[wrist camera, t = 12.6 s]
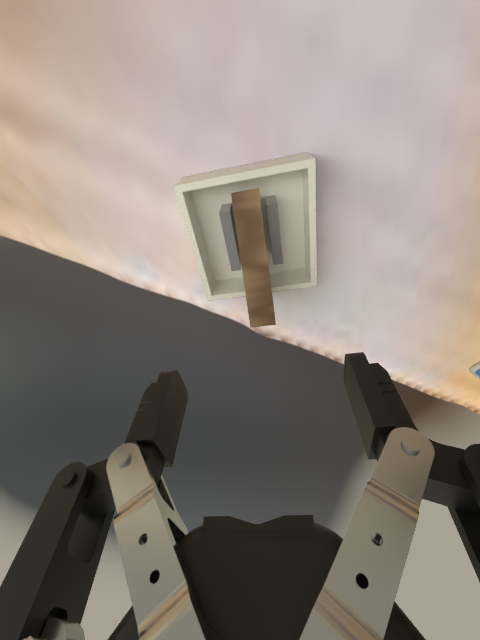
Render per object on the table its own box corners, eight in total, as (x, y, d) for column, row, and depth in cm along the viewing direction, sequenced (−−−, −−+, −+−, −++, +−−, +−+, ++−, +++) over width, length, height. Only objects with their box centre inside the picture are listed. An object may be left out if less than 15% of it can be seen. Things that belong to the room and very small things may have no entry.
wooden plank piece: (274, 313, 30) (260, 196, 27) (275, 324, 26) (258, 187, 23) (252, 315, 30) (236, 200, 27) (250, 327, 26) (230, 193, 23)
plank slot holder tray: (307, 152, 25) (315, 158, 22) (310, 269, 32) (316, 286, 29) (182, 177, 27) (173, 185, 23) (211, 283, 34) (207, 300, 31)
